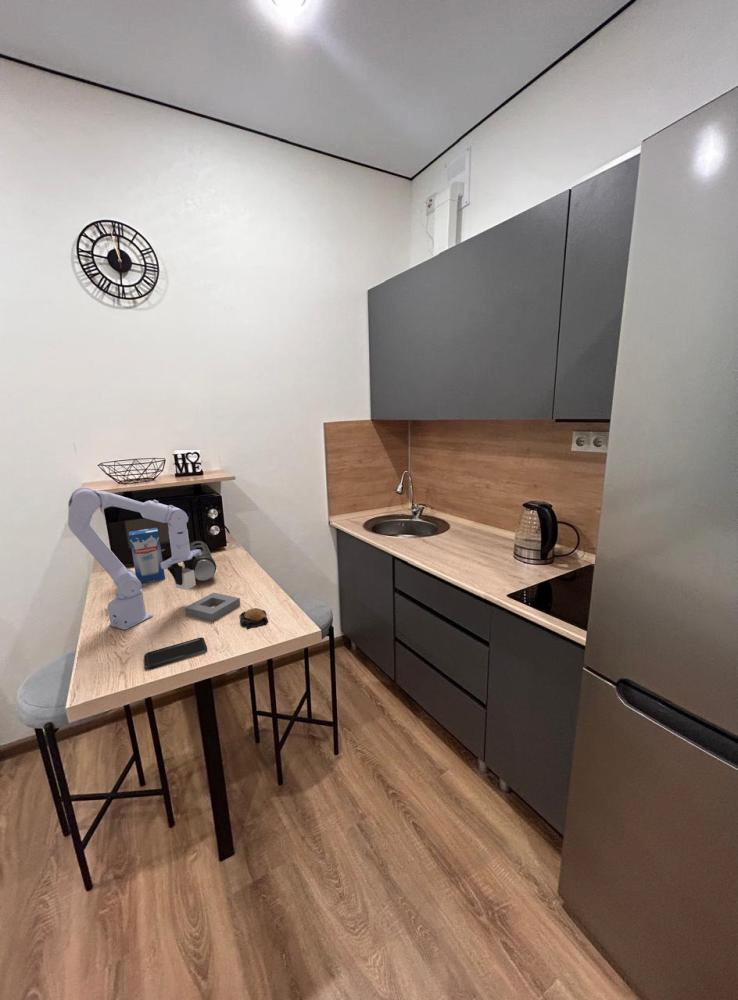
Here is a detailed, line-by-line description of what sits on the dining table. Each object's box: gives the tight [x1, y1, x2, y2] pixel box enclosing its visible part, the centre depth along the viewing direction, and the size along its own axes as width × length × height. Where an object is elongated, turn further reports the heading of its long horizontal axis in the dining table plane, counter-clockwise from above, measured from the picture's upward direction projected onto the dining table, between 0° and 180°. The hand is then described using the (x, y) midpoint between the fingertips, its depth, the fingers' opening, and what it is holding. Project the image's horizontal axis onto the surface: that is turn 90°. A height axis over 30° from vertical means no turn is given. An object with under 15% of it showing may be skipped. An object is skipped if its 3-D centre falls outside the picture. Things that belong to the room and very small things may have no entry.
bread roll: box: [238, 607, 269, 630], centre depth 125 cm, size 11×8×4 cm
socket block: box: [184, 592, 241, 622], centre depth 133 cm, size 12×12×2 cm
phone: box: [143, 636, 208, 671], centre depth 108 cm, size 8×1×15 cm
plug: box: [174, 566, 196, 590], centre depth 136 cm, size 4×5×6 cm
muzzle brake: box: [189, 540, 217, 582], centre depth 166 cm, size 10×28×10 cm, turn 27°
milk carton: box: [128, 527, 166, 585], centre depth 159 cm, size 10×6×20 cm, turn 121°
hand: (185, 581), depth 137 cm, fingers closed on plug, 4 cm apart
